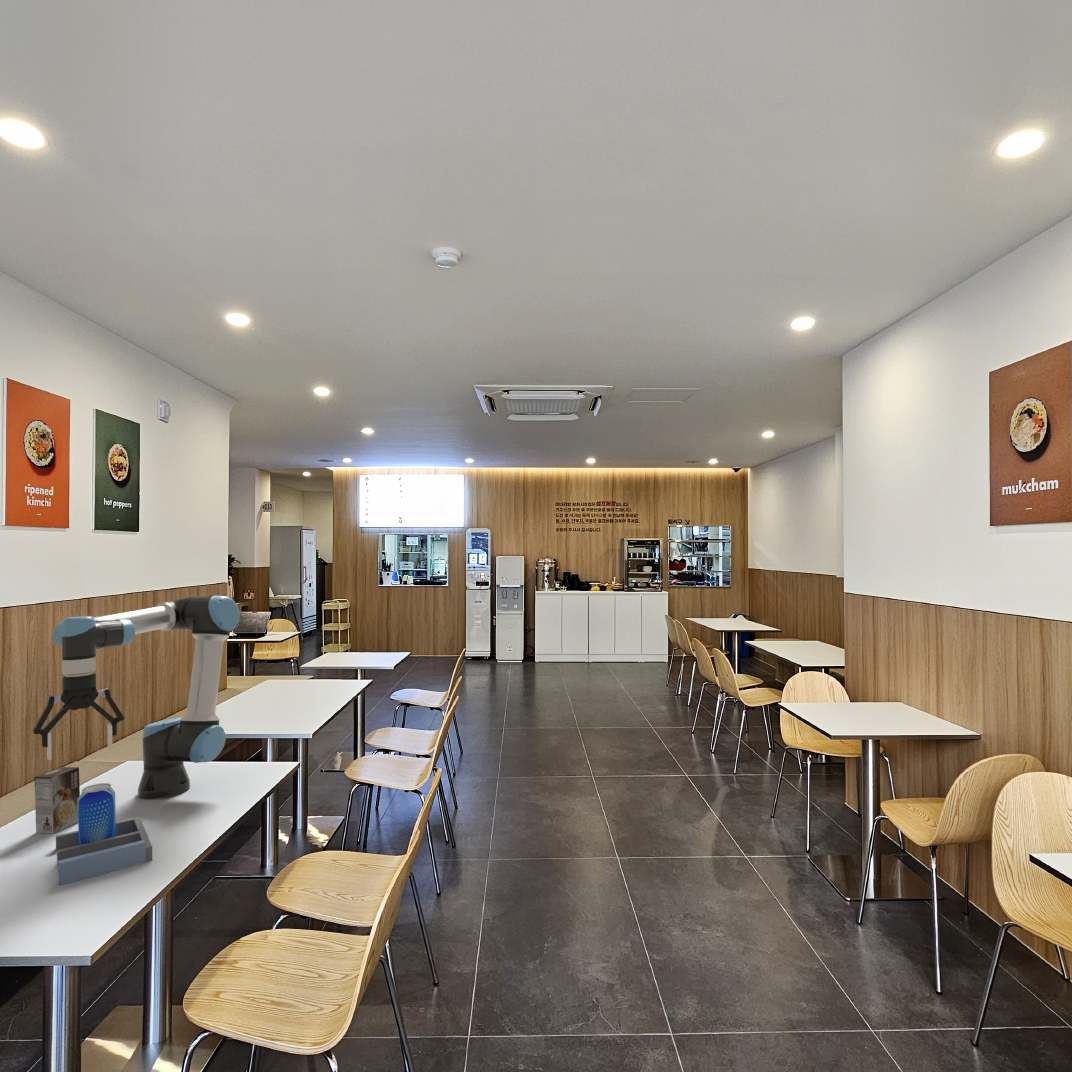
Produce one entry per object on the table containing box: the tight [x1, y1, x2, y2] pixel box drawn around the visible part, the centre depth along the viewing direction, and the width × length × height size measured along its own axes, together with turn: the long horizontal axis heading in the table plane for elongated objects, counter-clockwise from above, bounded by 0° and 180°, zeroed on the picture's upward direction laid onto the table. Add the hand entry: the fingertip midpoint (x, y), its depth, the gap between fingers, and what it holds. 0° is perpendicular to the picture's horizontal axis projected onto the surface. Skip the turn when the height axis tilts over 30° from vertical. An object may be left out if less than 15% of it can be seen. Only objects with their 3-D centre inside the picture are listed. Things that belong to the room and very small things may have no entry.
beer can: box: [77, 782, 117, 845], centre depth 181 cm, size 8×8×16 cm
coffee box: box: [33, 766, 81, 834], centre depth 197 cm, size 9×6×16 cm
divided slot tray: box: [55, 816, 153, 886], centre depth 177 cm, size 20×26×5 cm
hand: (80, 753), depth 182 cm, fingers open, 13 cm apart
